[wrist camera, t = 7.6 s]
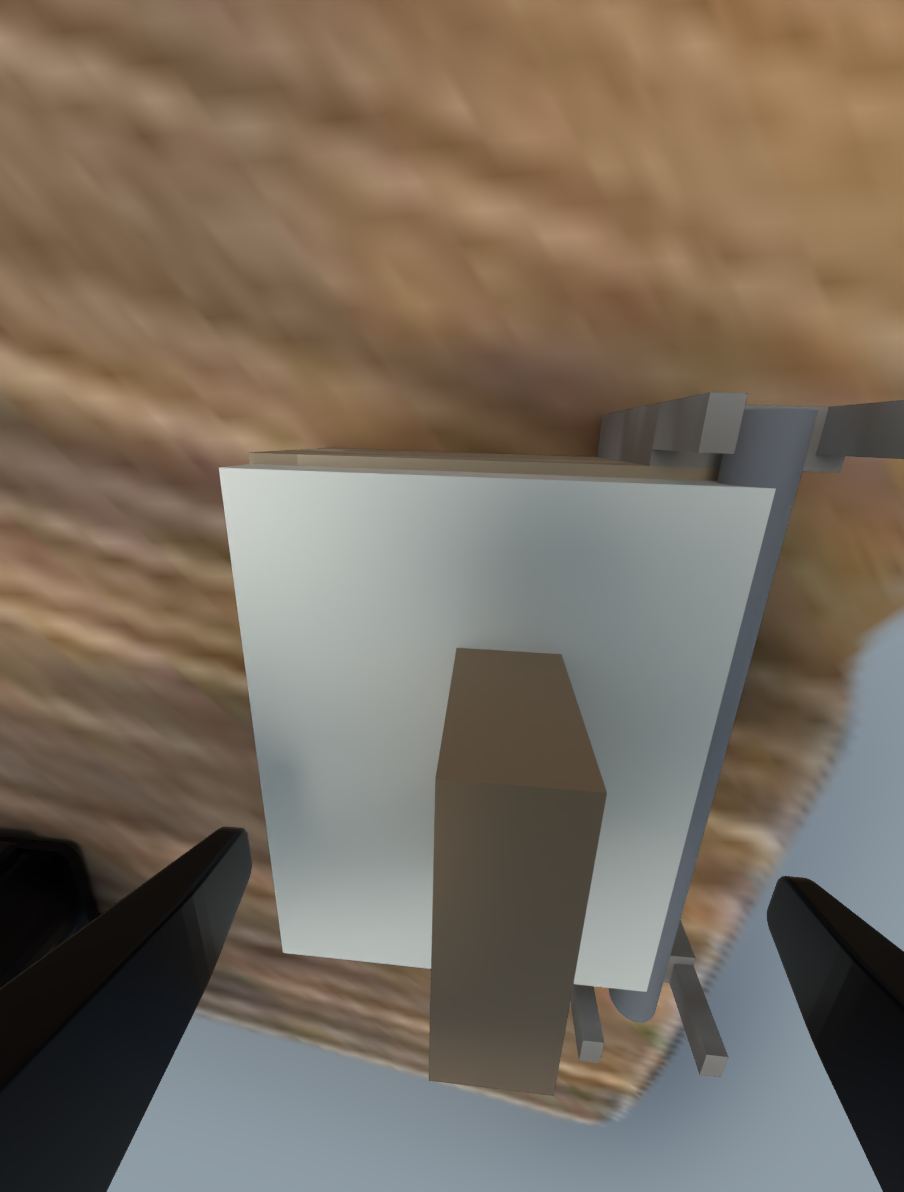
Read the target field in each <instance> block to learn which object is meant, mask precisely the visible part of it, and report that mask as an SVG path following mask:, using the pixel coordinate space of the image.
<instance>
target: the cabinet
mask: <svg viewBox="0 0 904 1192" xmlns="http://www.w3.org/2000/svg"><path fill="white" fill-rule="evenodd" d="M747 394H748V393H717V392H709V393H705V394H700V395H695V396H690V397H685V398H681V399H676V400H671V401H666V402H661V403H656V404H652V405H647V406H642V407H637V408H632V409H628V410H623V411H618V412H613V413H608V414H604V415H602V421H601V429H600V437H599V445H598V453H597V457H586V456H555V455H524V454H493V453H462V452H432V451H401V450H370V449H339V448H317V449H301V450H284V451H268V452H251V453H248V456H249V464H265V465H292V466H320V467H347V468H374V469H402V470H429V471H456V472H483V473H511V474H538V475H565V476H593V477H620V478H647V479H674V480H702V481H717V480H718V475H719V470H720V466H721V461H722V456H723V453H725V454H734V452H735V448H736V443H737V439H738V434H739V430H740V425H741V421H742V416H743V412H744V409H811V410H818V415H817V419H816V422H815V426H814V430H813V433H812V437H811V441H810V444H809V448H808V452H807V455H806V459H805V463H804V466H803V470H802V471H809V472H839V473H840V470H841V467H842V463H843V460H844V457H845V456H855V457H875V458H895V459H904V400H899V401H889V402H878V403H867V404H856V405H845V406H834V407H811V406H770V405H745V403H746V398H747ZM694 961H695V956H694V953H693V951H692V948H691V946H690V943H689V941H688V938H687V936H686V933H685V930H684V928H683V925H682V923H681V920H680V922H679V926H678V929H677V933H676V937H675V940H674V944H673V948H672V951H671V955H670V959H669V962H668V966H667V970H666V973H665V977H664V981H663V982H666V983H670V986H671V989H672V992H673V995H674V998H675V1001H676V1004H677V1007H678V1010H679V1013H680V1016H681V1019H682V1022H683V1025H684V1028H685V1031H686V1035H687V1038H688V1041H689V1044H690V1046H691V1050H692V1053H693V1056H694V1059H695V1061H696V1065H697V1068H698V1071H699V1074H700V1075H705V1076H714V1077H721V1076H722V1073H723V1071H724V1068H725V1065H726V1062H727V1060H728V1055H727V1052H726V1050H725V1047H724V1044H723V1042H722V1039H721V1037H720V1034H719V1031H718V1029H717V1026H716V1023H715V1021H714V1019H713V1016H712V1013H711V1010H710V1008H709V1005H708V1003H707V1000H706V997H705V995H704V992H703V990H702V987H701V984H700V982H699V979H698V977H697V974H696V971H695V969H694V966H693V965H694ZM571 1007H572V1014H573V1021H574V1028H575V1035H576V1043H577V1050H578V1057H579V1061H586V1062H595V1063H600V1059H601V1054H602V1050H603V1045H604V1040H603V1035H602V1029H601V1024H600V1019H599V1013H598V1008H597V1003H596V997H595V992H594V987H593V986H587V985H578V984H573V989H572V995H571Z"/></svg>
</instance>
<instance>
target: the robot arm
mask: <svg viewBox="0 0 904 1192" xmlns="http://www.w3.org/2000/svg"><path fill="white" fill-rule="evenodd" d="M251 869H252V859H251V853H250V846H249V839H248V834H247V831H246V830H245V829H243V828H236V827H222V828H220V829H218V830H216V831H215V832H214V833H212V834H211V835H209V836H208V837H207V838H205V839H204V840H203V841H201V842H200V843H199V844H197V845H196V846H194V847H193V848H192V849H190V850H189V851H188V852H186V853H185V854H183V855H182V856H181V857H179V858H178V859H177V860H175V861H174V862H172V863H171V864H170V865H168V866H167V867H166V868H164V869H163V870H162V871H160V872H159V873H157V874H156V875H155V876H153V877H152V878H151V879H149V880H148V881H146V882H145V883H144V884H142V885H141V886H140V887H138V888H137V889H136V890H134V891H133V892H131V893H130V894H129V895H127V896H126V897H125V898H123V899H122V900H120V901H119V902H118V903H116V904H115V905H114V906H112V907H111V908H109V909H108V910H107V911H105V912H104V913H103V914H101V915H100V916H99V917H97V914H96V911H95V908H94V904H93V901H92V898H91V895H90V892H89V889H88V885H87V882H86V879H85V876H84V873H83V870H82V866H81V863H80V860H79V857H78V854H77V852H76V850H75V849H74V848H73V847H71V846H69V845H67V844H63V843H52V842H41V841H31V840H20V839H9V838H0V1192H107V1190H108V1188H109V1186H110V1184H111V1181H112V1179H113V1177H114V1175H115V1173H116V1171H117V1169H118V1167H119V1165H120V1163H121V1160H122V1159H123V1157H124V1155H125V1153H126V1151H127V1149H128V1147H129V1145H130V1143H131V1140H132V1138H133V1136H134V1134H135V1132H136V1130H137V1128H138V1126H139V1124H140V1122H141V1120H142V1118H143V1116H144V1114H145V1112H146V1110H147V1108H148V1106H149V1104H150V1102H151V1100H152V1097H153V1095H154V1093H155V1091H156V1089H157V1087H158V1085H159V1083H160V1081H161V1079H162V1077H163V1075H164V1073H165V1071H166V1069H167V1067H168V1065H169V1063H170V1061H171V1058H172V1056H173V1055H174V1052H175V1050H176V1048H177V1046H178V1044H179V1042H180V1040H181V1038H182V1036H183V1034H184V1032H185V1030H186V1028H187V1026H188V1024H189V1022H190V1020H191V1018H192V1016H193V1014H194V1011H195V1009H196V1007H197V1005H198V1003H199V1001H200V999H201V997H202V995H203V993H204V991H205V989H206V986H207V984H208V982H209V980H210V978H211V975H212V973H213V970H214V968H215V966H216V963H217V961H218V958H219V956H220V953H221V950H222V948H223V945H224V943H225V940H226V937H227V935H228V932H229V930H230V927H231V924H232V922H233V919H234V917H235V914H236V911H237V909H238V906H239V904H240V901H241V899H242V896H243V893H244V891H245V888H246V886H247V883H248V880H249V878H250V874H251ZM767 921H768V926H769V929H770V932H771V935H772V937H773V940H774V942H775V945H776V947H777V950H778V953H779V955H780V958H781V961H782V963H783V966H784V969H785V971H786V974H787V977H788V979H789V982H790V984H791V987H792V990H793V992H794V995H795V997H796V1000H797V1003H798V1005H799V1008H800V1011H801V1013H802V1016H803V1019H804V1021H805V1024H806V1026H807V1028H808V1031H809V1034H810V1036H811V1039H812V1041H813V1043H814V1045H815V1048H816V1050H817V1052H818V1055H819V1057H820V1059H821V1061H822V1063H823V1066H824V1068H825V1070H826V1072H827V1074H828V1076H829V1078H830V1080H831V1082H832V1085H833V1087H834V1089H835V1091H836V1093H837V1095H838V1097H839V1099H840V1102H841V1104H842V1106H843V1108H844V1110H845V1112H846V1114H847V1116H848V1119H849V1121H850V1123H851V1124H852V1127H853V1129H854V1131H855V1133H856V1135H857V1137H858V1140H859V1142H860V1144H861V1146H862V1148H863V1150H864V1152H865V1154H866V1157H867V1159H868V1161H869V1163H870V1165H871V1167H872V1169H873V1171H874V1173H875V1176H876V1178H877V1180H878V1182H879V1184H880V1186H881V1188H882V1190H883V1192H904V951H902V950H901V949H900V948H898V947H897V946H896V945H894V944H893V943H892V942H891V941H889V940H888V939H887V938H886V937H884V936H883V935H882V934H880V933H879V932H878V931H876V930H875V929H874V928H873V927H871V926H870V925H869V924H868V923H866V922H865V921H864V920H862V919H861V918H860V917H858V916H857V915H856V914H855V913H853V912H852V911H851V910H850V909H848V908H847V907H846V906H844V905H843V904H842V903H841V902H839V901H838V900H837V899H835V898H834V897H833V896H832V895H830V894H829V893H828V892H826V891H825V890H824V889H823V888H821V887H820V886H819V885H818V884H816V883H815V882H813V881H811V880H809V879H807V878H800V877H790V876H784V877H781V878H780V879H778V881H777V884H776V887H775V889H774V892H773V895H772V898H771V901H770V904H769V906H768V910H767Z"/></svg>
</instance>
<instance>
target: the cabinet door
mask: <svg viewBox="0 0 904 1192" xmlns="http://www.w3.org/2000/svg"><path fill="white" fill-rule="evenodd" d="M817 415H818V410H811V409H744V412H743V416H742V421H741V425H740V430H739V434H738V439H737V443H736V448H735V452H734V454H725V453H723V456H722V461H721V466H720V470H719V475H718V480H717V481H702V480H674V479H647V478H620V477H593V476H565V475H538V474H511V473H483V472H456V471H429V470H402V469H374V468H347V467H320V466H292V465H265V464H248V465H239V466H230V467H220V468H219V473H220V481H221V488H222V496H223V504H224V511H225V519H226V526H227V534H228V541H229V549H230V556H231V564H232V571H233V579H234V586H235V594H236V602H237V609H238V617H239V624H240V632H241V639H242V647H243V654H244V662H245V669H246V677H247V684H248V692H249V699H250V707H251V715H252V722H253V730H254V737H255V745H256V752H257V760H258V767H259V775H260V782H261V790H262V797H263V805H264V813H265V820H266V828H267V835H268V843H269V850H270V858H271V865H272V873H273V880H274V888H275V895H276V903H277V910H278V918H279V926H280V933H281V941H282V948H283V953H290V954H299V955H309V956H318V957H327V958H336V959H346V960H355V961H364V962H373V963H383V964H392V965H401V966H411V967H420V968H429V969H431V996H430V1041H429V1081H436V1082H445V1083H453V1084H461V1085H469V1086H477V1087H485V1088H493V1089H501V1090H509V1091H517V1092H525V1093H533V1094H541V1095H549V1096H554V1091H555V1086H556V1080H557V1074H558V1069H559V1063H560V1057H561V1052H562V1046H563V1040H564V1035H565V1029H566V1023H567V1018H568V1012H569V1006H570V1000H571V995H572V989H573V984H578V985H587V986H596V987H605V988H609V993H610V997H611V1000H612V1002H613V1004H614V1005H615V1007H616V1008H617V1009H618V1011H619V1012H620V1013H621V1014H622V1015H624V1016H625V1017H626V1018H628V1019H630V1020H632V1021H635V1022H646V1021H649V1020H650V1019H651V1018H652V1017H653V1016H654V1013H655V1010H656V1006H657V1003H658V999H659V995H660V992H661V988H662V984H663V981H664V977H665V973H666V970H667V966H668V962H669V959H670V955H671V951H672V948H673V944H674V940H675V937H676V933H677V929H678V926H679V922H680V918H681V915H682V911H683V907H684V904H685V900H686V896H687V893H688V889H689V885H690V882H691V878H692V874H693V871H694V867H695V863H696V860H697V856H698V852H699V849H700V845H701V841H702V837H703V834H704V830H705V826H706V823H707V819H708V815H709V812H710V808H711V804H712V801H713V797H714V793H715V790H716V786H717V782H718V779H719V775H720V771H721V768H722V764H723V760H724V757H725V753H726V749H727V746H728V742H729V738H730V735H731V731H732V727H733V724H734V720H735V716H736V713H737V709H738V705H739V702H740V698H741V694H742V691H743V687H744V683H745V680H746V676H747V672H748V669H749V665H750V661H751V657H752V654H753V650H754V646H755V643H756V639H757V635H758V632H759V628H760V624H761V621H762V617H763V613H764V610H765V606H766V602H767V599H768V595H769V591H770V588H771V584H772V580H773V577H774V573H775V569H776V566H777V562H778V558H779V555H780V551H781V547H782V544H783V540H784V536H785V533H786V529H787V525H788V522H789V518H790V514H791V511H792V507H793V503H794V500H795V496H796V492H797V488H798V485H799V481H800V477H801V474H802V470H803V466H804V463H805V459H806V455H807V452H808V448H809V444H810V441H811V437H812V433H813V430H814V426H815V422H816V419H817Z"/></svg>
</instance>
